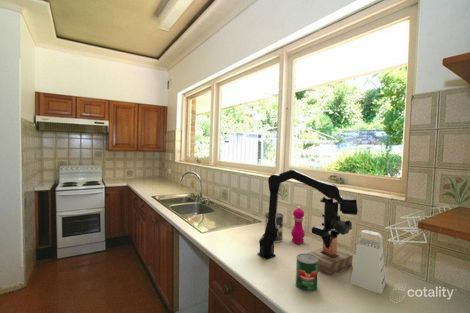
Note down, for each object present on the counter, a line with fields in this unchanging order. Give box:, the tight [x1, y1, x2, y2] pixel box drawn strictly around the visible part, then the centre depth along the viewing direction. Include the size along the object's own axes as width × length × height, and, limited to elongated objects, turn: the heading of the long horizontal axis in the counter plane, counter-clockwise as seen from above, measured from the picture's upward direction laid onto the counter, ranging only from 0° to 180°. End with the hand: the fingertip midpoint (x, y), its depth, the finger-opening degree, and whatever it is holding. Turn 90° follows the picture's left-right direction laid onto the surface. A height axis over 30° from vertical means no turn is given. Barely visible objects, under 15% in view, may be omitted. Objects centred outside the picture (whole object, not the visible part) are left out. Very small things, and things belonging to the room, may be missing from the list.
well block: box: [306, 247, 354, 277], centre depth 110 cm, size 16×12×5 cm
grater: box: [350, 229, 387, 295], centre depth 96 cm, size 10×10×20 cm
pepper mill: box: [290, 205, 306, 245], centre depth 135 cm, size 7×7×20 cm
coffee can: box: [264, 212, 284, 243], centre depth 139 cm, size 10×10×14 cm
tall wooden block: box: [322, 236, 338, 255], centre depth 109 cm, size 3×5×7 cm, turn 33°
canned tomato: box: [295, 253, 319, 293], centre depth 93 cm, size 8×8×11 cm
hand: (329, 247), depth 109 cm, fingers closed on tall wooden block, 3 cm apart
